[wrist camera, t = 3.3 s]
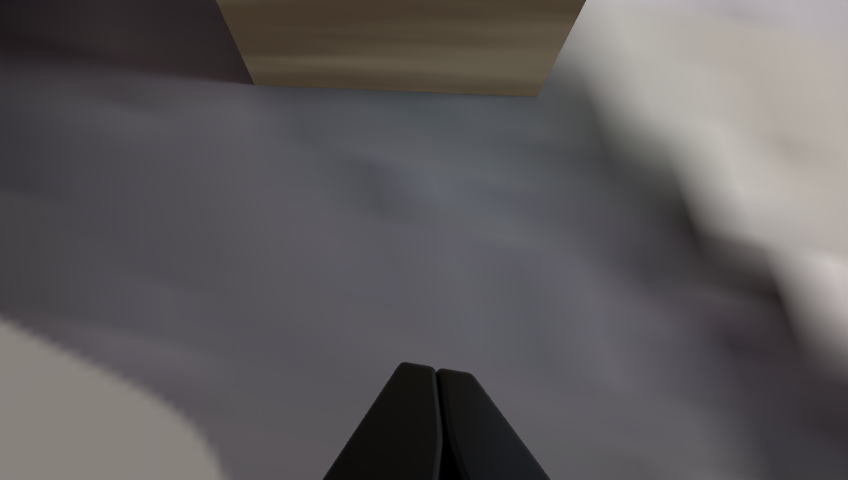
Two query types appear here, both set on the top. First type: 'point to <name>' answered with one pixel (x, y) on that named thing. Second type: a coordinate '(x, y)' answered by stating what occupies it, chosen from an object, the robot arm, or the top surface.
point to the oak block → (402, 43)
